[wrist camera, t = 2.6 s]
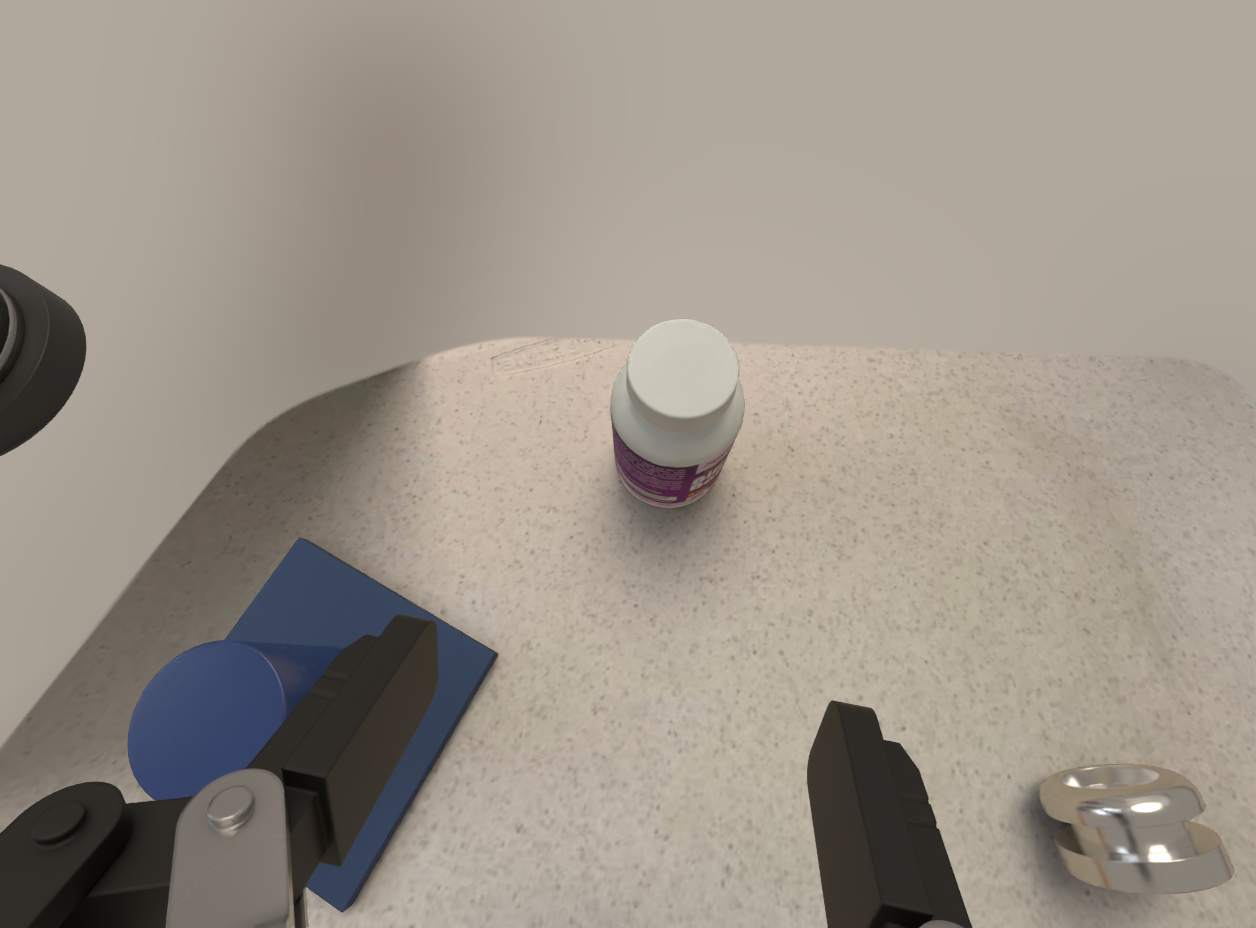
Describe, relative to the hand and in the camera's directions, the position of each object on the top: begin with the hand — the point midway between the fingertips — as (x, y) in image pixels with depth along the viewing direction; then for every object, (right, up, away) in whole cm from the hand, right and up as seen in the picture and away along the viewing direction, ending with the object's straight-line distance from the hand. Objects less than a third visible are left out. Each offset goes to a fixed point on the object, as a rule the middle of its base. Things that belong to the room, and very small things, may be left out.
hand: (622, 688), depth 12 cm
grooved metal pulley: (+19, -10, +13) cm, 25 cm away
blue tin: (-13, -6, +14) cm, 20 cm away
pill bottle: (+2, +5, +18) cm, 19 cm away
